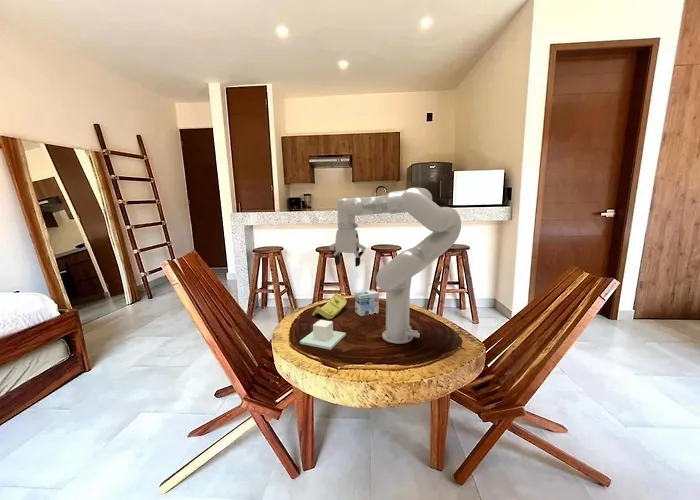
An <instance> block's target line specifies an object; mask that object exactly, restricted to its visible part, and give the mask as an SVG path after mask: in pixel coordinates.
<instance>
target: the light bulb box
mask: <svg viewBox="0 0 700 500" xmlns="http://www.w3.org/2000/svg"><path fill="white" fill-rule="evenodd" d="M379 294H380V293H379V292H377V291H376V290H375V289H367V290H361V291H355V292H354V296H355V297H354V303H355V304H354V307H355V309H354V310H355V313H356V314H357V315H359V316H360V317H363V316H370V315H375V314H374V313H376V314H379V313H380V312H379V308H380V307H379V297H380V296H379ZM369 314H370V315H369Z"/></svg>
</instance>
